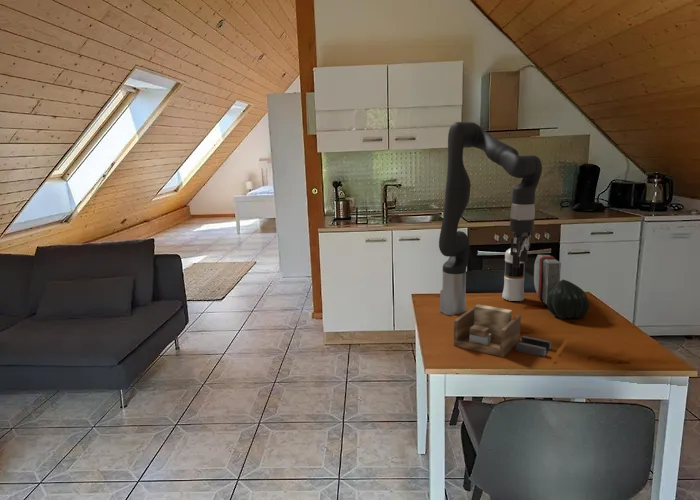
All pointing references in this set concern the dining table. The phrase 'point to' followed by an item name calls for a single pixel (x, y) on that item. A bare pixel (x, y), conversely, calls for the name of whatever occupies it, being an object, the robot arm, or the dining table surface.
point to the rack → (497, 344)
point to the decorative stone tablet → (546, 275)
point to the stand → (533, 346)
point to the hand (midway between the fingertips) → (519, 264)
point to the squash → (567, 300)
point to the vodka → (513, 279)
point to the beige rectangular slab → (492, 318)
